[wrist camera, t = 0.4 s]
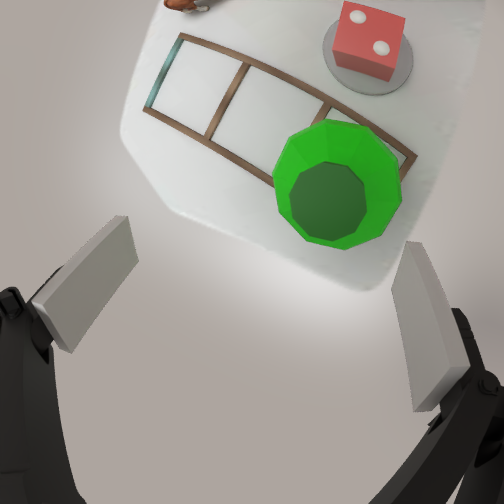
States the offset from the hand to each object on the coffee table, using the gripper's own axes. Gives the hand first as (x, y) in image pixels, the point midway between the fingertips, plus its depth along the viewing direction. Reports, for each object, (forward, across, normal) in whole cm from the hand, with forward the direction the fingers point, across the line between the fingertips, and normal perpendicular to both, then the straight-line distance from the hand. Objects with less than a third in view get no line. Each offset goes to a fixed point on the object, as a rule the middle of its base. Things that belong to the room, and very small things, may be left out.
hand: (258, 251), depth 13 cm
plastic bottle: (+28, +7, -5) cm, 29 cm away
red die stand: (+31, +9, +12) cm, 35 cm away
